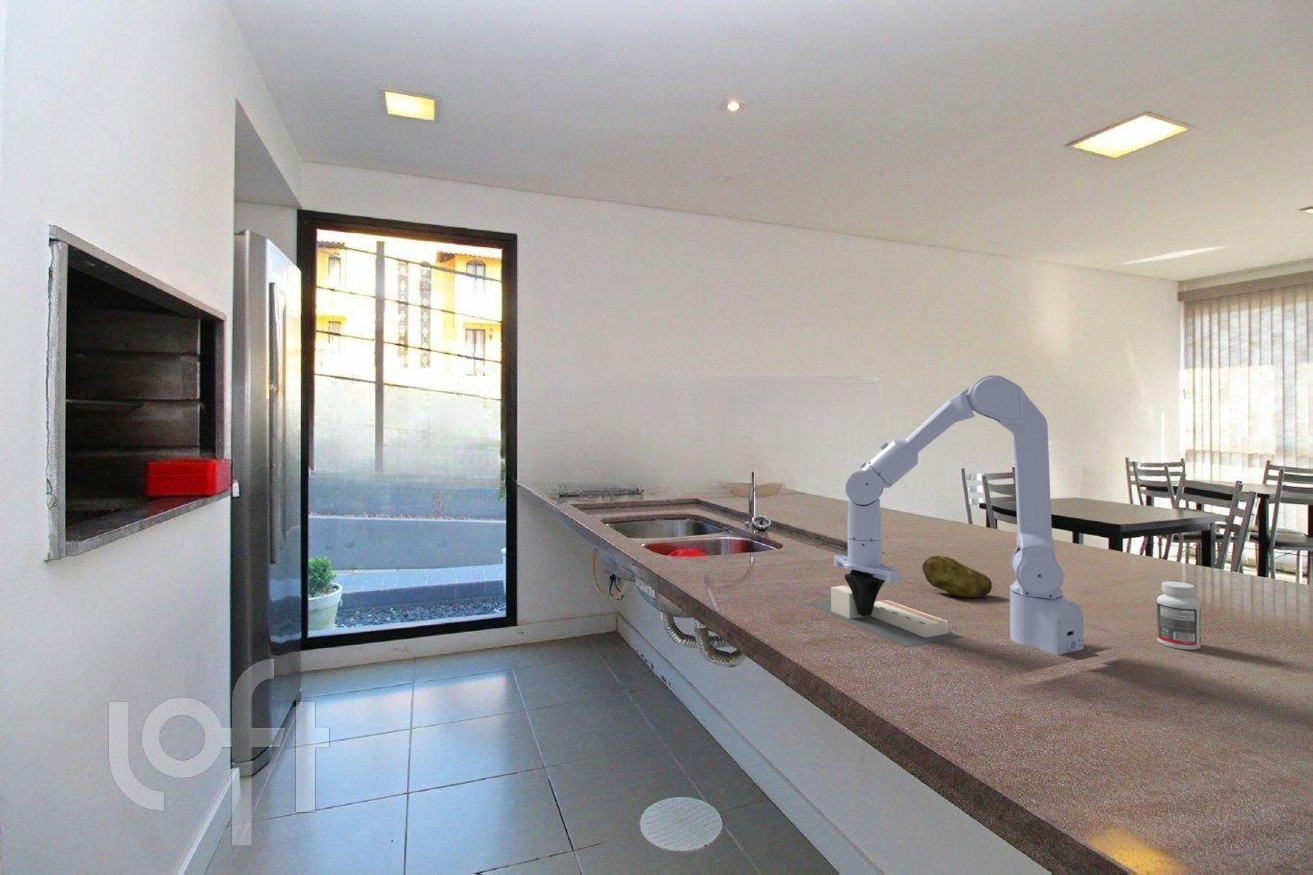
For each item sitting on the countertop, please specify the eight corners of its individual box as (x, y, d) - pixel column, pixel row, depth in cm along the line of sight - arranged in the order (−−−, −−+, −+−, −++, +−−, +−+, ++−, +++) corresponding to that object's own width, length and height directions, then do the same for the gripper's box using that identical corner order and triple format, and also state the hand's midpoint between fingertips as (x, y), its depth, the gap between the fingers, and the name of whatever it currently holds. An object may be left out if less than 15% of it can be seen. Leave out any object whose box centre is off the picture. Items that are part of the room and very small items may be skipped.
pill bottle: (1165, 636, 102) (1165, 578, 102) (1206, 646, 97) (1206, 585, 97) (1150, 642, 99) (1150, 582, 99) (1191, 653, 94) (1191, 590, 94)
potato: (987, 604, 121) (987, 564, 121) (919, 594, 129) (918, 557, 129) (993, 595, 128) (993, 557, 128) (927, 586, 136) (927, 550, 136)
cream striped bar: (948, 633, 101) (948, 620, 101) (925, 637, 99) (925, 624, 99) (886, 610, 114) (886, 599, 114) (865, 613, 112) (865, 602, 112)
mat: (962, 643, 99) (962, 636, 99) (906, 654, 95) (906, 646, 95) (855, 602, 124) (855, 596, 124) (805, 609, 119) (805, 603, 119)
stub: (867, 615, 111) (866, 590, 111) (849, 618, 109) (849, 593, 109) (848, 608, 115) (848, 584, 115) (831, 611, 114) (831, 586, 114)
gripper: (820, 533, 114) (820, 606, 114) (875, 547, 100) (875, 629, 100) (850, 531, 116) (851, 601, 116) (908, 543, 103) (908, 623, 103)
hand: (864, 614), depth 109 cm, fingers closed
